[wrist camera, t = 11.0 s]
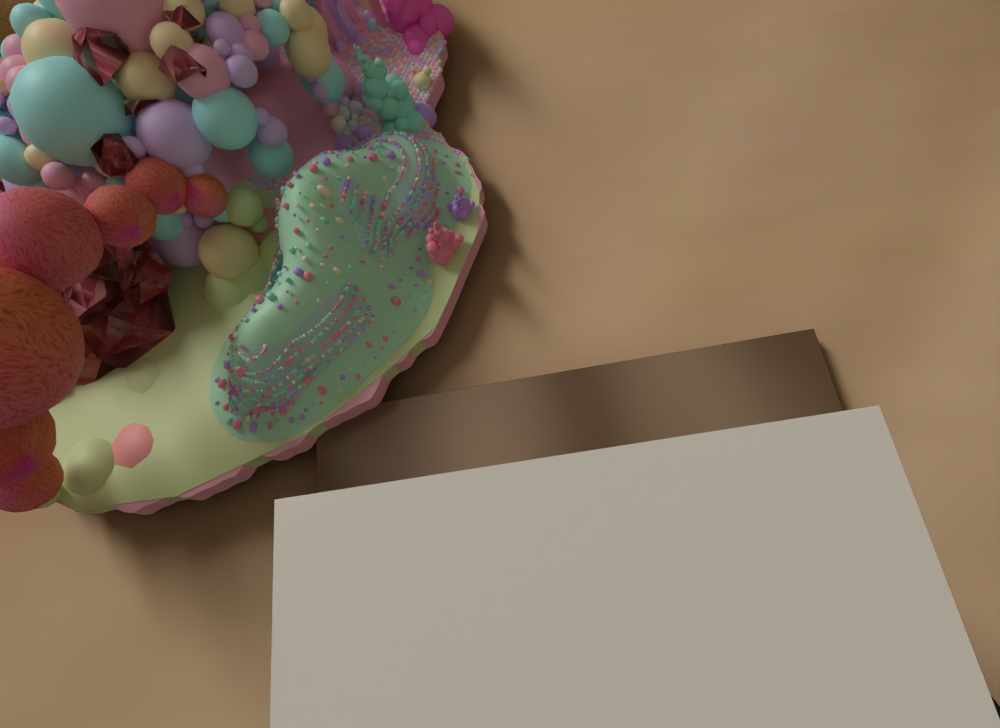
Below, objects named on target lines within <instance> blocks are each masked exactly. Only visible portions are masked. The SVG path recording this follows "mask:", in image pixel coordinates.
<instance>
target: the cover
mask: <svg viewBox="0 0 1000 728" xmlns="http://www.w3.org/2000/svg"><path fill="white" fill-rule="evenodd" d="M270 728H1000V719H999V716H998V713H997V711H996V708H995V706H994V703H993V700H992V698H991V695H990V693H989V690H988V687H987V685H986V682H985V680H984V677H983V674H982V672H981V669H980V667H979V664H978V661H977V659H976V656H975V654H974V651H973V648H972V646H971V643H970V641H969V638H968V635H967V633H966V630H965V628H964V625H963V623H962V620H961V617H960V615H959V612H958V610H957V607H956V604H955V602H954V599H953V597H952V594H951V591H950V589H949V586H948V584H947V581H946V578H945V576H944V573H943V571H942V568H941V565H940V563H939V560H938V558H937V555H936V552H935V550H934V547H933V545H932V542H931V539H930V537H929V534H928V532H927V529H926V526H925V524H924V521H923V519H922V516H921V513H920V511H919V508H918V506H917V503H916V500H915V498H914V495H913V493H912V490H911V487H910V485H909V482H908V480H907V477H906V474H905V472H904V469H903V467H902V464H901V461H900V459H899V456H898V454H897V451H896V448H895V446H894V443H893V441H892V438H891V435H890V433H889V430H888V428H887V425H886V422H885V420H884V417H883V415H882V412H881V409H880V407H879V405H878V406H872V407H865V408H859V409H852V410H846V411H840V412H833V413H827V414H820V415H814V416H807V417H801V418H795V419H788V420H782V421H775V422H769V423H763V424H756V425H750V426H743V427H737V428H731V429H724V430H718V431H711V432H705V433H698V434H692V435H686V436H679V437H673V438H666V439H660V440H654V441H647V442H641V443H634V444H628V445H622V446H615V447H609V448H602V449H596V450H590V451H583V452H577V453H570V454H564V455H557V456H551V457H545V458H538V459H532V460H525V461H519V462H513V463H506V464H500V465H493V466H487V467H481V468H474V469H468V470H461V471H455V472H449V473H442V474H436V475H429V476H423V477H416V478H410V479H404V480H397V481H391V482H384V483H378V484H372V485H365V486H359V487H352V488H346V489H340V490H333V491H327V492H320V493H314V494H307V495H301V496H295V497H288V498H282V499H275V500H274V551H273V601H272V652H271V703H270Z"/></svg>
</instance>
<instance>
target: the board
mask: <svg viewBox="0 0 1000 728" xmlns="http://www.w3.org/2000/svg"><path fill="white" fill-rule="evenodd" d="M840 411H843V409H842V407H841V404H840V401H839V398H838V395H837V393H836V390H835V387H834V384H833V381H832V379H831V376H830V373H829V370H828V367H827V365H826V362H825V359H824V356H823V354H822V351H821V348H820V345H819V342H818V340H817V337H816V334H815V331H814V329H809V330H804V331H798V332H792V333H786V334H780V335H774V336H768V337H763V338H757V339H751V340H745V341H739V342H733V343H727V344H722V345H716V346H710V347H704V348H698V349H692V350H686V351H680V352H675V353H669V354H663V355H657V356H651V357H645V358H639V359H634V360H628V361H622V362H616V363H610V364H604V365H598V366H593V367H587V368H581V369H575V370H569V371H563V372H557V373H552V374H546V375H540V376H534V377H528V378H522V379H516V380H511V381H505V382H499V383H493V384H487V385H481V386H475V387H470V388H464V389H458V390H452V391H446V392H440V393H434V394H429V395H423V396H417V397H411V398H405V399H399V400H393V401H388V402H382V403H379V405H377V406H376V407H375V408H372V409H370V410H367V411H365V412H363V413H361V414H360V415H358V416H357V417H354V418H352V419H349V420H346V421H344V422H342V423H341V424H339V425H338V426H336V427H334V428H332V429H328V430H327V431H326V432H325V433H323V434H322V435H321V436H319V437H318V439H317V493H320V492H327V491H333V490H340V489H346V488H352V487H359V486H365V485H372V484H378V483H384V482H391V481H397V480H404V479H410V478H416V477H423V476H429V475H436V474H442V473H449V472H455V471H461V470H468V469H474V468H481V467H487V466H493V465H500V464H506V463H513V462H519V461H525V460H532V459H538V458H545V457H551V456H557V455H564V454H570V453H577V452H583V451H590V450H596V449H602V448H609V447H615V446H622V445H628V444H634V443H641V442H647V441H654V440H660V439H666V438H673V437H679V436H686V435H692V434H698V433H705V432H711V431H718V430H724V429H731V428H737V427H743V426H750V425H756V424H763V423H769V422H775V421H782V420H788V419H795V418H801V417H807V416H814V415H820V414H827V413H833V412H840Z"/></svg>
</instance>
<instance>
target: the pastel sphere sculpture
mask: <svg viewBox="0 0 1000 728" xmlns="http://www.w3.org/2000/svg"><path fill="white" fill-rule="evenodd" d="M453 27H454V21H453V16H452V14H451V12H450V11H449V10H448V8H446V7H445V6H443V5H441V4H435V5H433V2H432V0H0V509H1V510H4V511H9V512H25V511H30V510H33V509H37V508H46V507H49V506H51V505H52V504H54V503H55V502H58V503H60V504H62V505H64V506H66V507H68V508H71V509H73V510H75V511H76V512H81V513H90V514H98V513H105V512H107V511H112V510H117V509H118V510H120V511H123V512H127V513H134V514H141V515H150V514H152V513H155V512H156V511H158V510H159V509H161V508H164V507H166V506H169V505H172V504H174V503H176V502H177V501H181V500H189V499H193V500H199V501H200V500H205V499H207V498H209V497H211V496H212V495H214V494H216V493H219V492H222V491H225V490H227V489H229V488H230V487H232V486H234V485H236V484H238V483H241V482H244V481H246V480H248V479H249V478H250V477H251V476H252V475H253V473H254V472H255V470H256V468H257V467H259V466H261V465H263V464H265V463H267V462H269V461H271V460H277V461H284V460H287V459H289V458H291V457H293V456H295V455H297V454H299V453H302V452H306V451H308V450H309V449H310V448H311V447H312V446H313V445H314V444H315V442H316V440H317V439H318V437H319V436H321V435H322V434H323V433H325V432H326V431H327V430H328V429H332V428H334V427H336V426H338V425H339V424H341V423H342V422H344V421H346V420H349V419H352V418H354V417H357V416H358V415H360V414H361V413H363V412H365V411H367V410H370V409H372V408H375V407H376V406H377V405H379V403H380V402H381V401H382V399H383V397H384V395H385V393H386V390H387V388H388V386H389V384H390V381H391V380H392V379H393V378H394V377H395V376H396V375H397V374H398V373H400V372H402V371H405V370H407V369H408V368H410V367H411V366H412V364H413V363H414V361H415V359H416V357H417V356H418V355H419V354H420V353H422V352H423V351H424V350H425V349H427V348H430V347H432V346H434V345H435V344H436V343H437V342H438V341H439V339H440V337H441V335H442V333H443V331H444V329H445V327H446V325H447V323H448V321H449V318H450V316H451V314H452V312H453V310H454V307H455V305H456V303H457V300H458V298H459V295H460V293H461V291H462V288H463V286H464V284H465V281H466V279H467V276H468V274H469V272H470V269H471V267H472V265H473V262H474V260H475V257H476V255H477V253H478V250H479V248H480V246H481V243H482V241H483V239H484V236H485V234H486V231H487V227H488V223H487V219H486V215H485V212H484V209H483V204H484V201H485V196H484V192H483V189H482V185H481V182H480V180H479V179H478V178H477V176H476V175H475V172H474V169H473V167H472V166H471V164H470V163H469V157H466V156H465V154H464V153H463V152H462V151H460V150H458V149H454V148H452V147H450V146H449V145H448V144H447V142H446V140H445V138H444V137H443V136H442V133H438V132H436V131H434V130H433V129H432V128H433V127H434V126H435V124H436V121H437V114H436V112H435V110H434V109H435V107H436V105H437V103H438V101H439V99H440V97H441V95H442V93H443V91H444V88H445V82H444V79H443V76H442V72H443V67H444V65H445V63H446V61H447V58H448V51H447V48H446V44H447V41H446V40H444V39H446V38H448V37H449V36H450V34H451V32H452V30H453ZM449 137H450V136H449Z"/></svg>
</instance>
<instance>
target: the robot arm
mask: <svg viewBox="0 0 1000 728" xmlns="http://www.w3.org/2000/svg"><path fill="white" fill-rule="evenodd" d="M991 698H992V696H991ZM992 700H993V703H994V706H995V708H996V711H997V713H998V716H999V719H1000V706H999V705H998V704H997V702H996V701H995V700H994V699H993V698H992Z"/></svg>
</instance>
